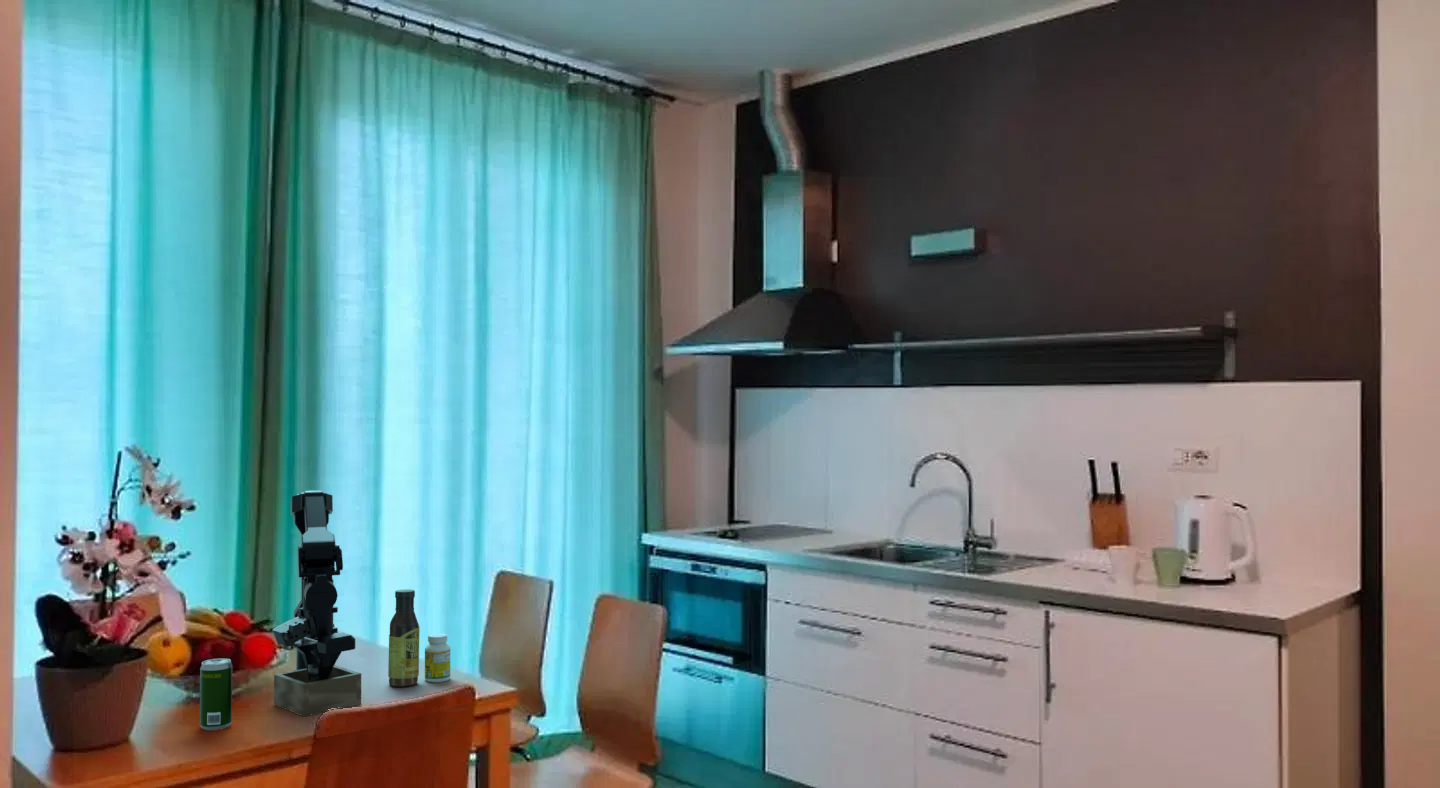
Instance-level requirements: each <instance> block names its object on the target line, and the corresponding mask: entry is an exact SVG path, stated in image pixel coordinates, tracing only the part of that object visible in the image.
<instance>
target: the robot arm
mask: <svg viewBox="0 0 1440 788" xmlns="http://www.w3.org/2000/svg"><path fill="white" fill-rule="evenodd" d="M333 505H334V503H333V494H330V493H327V491H324V490H305V491H302V492H301V493H298V494H295V495H292V496H291V498H290V515H291V517H292V516H293V522H294V524H295V526H296V528H297V529H298V531H299V533H300V534H301V540H300V542H301V543H300V545H298V546H297V569H298V570H297V572H298V578H300V581H301V582H300V583H301V586H300V587H301V589H300V591H301V592H300V594H301V595H300V599H301V600H300V601H299V602H298V603H297V605H296V608H295V609H294V610H293V618H290V619H289V620H287V621H285V622H283V623H281V624H279V625H278V626H275V627H274V628H272V632H273V635H274V638H275V640H276V643H277V645H279V646H280V645H281V646H283V647H286V648H289V649H290V650H293V649H295V650H296V653H295V654H296V655H295V656H296V658H295V659H296V663H295V664H296V667H295V668H296V669H295V670H301V669H307V672H308V664H309V663H312V662H317V664H318V674H319V680H325V679H328V677H329V675H330V673H331V671H332V669H333V667H334V665H336V662H337V661H338V660H339V657H340V656H341V653H342V652H347V651H351V650H355V649H356V638H355V637H354V636H352V635H351V634H348V633H345V632H339V631H338V630H339V629H338V627H335V624H334V614H335V613H338V612H339V610H338V609H339V608H338V606H334V605H335V604H336V602H337V601H338V591H337V589H336V586H335V584H334V578H333V576H340V575H341V571H343V569H344V563H343V551H342V549H341V548H340V545H339V543H336V538H335V534H334V533H332V532H331V531H329V530H328V524H329V522H330V521H329V520H330V516H329V515H332V514H333V511H334V509H333ZM295 670H292V671H295Z"/></svg>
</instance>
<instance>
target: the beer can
mask: <svg viewBox="0 0 1440 788" xmlns="http://www.w3.org/2000/svg"><path fill="white" fill-rule="evenodd" d="M199 671H200V672H199V673H200V674H199V677H200V678H199V688H200V689H199V725H200V727H201V729H202V730H203V729H204V731H219V730H218V729H220V730H223V729H222V728H224V729H226V728H225V727H227V728H229V727H230V726H231V724H232V721H233V664H232V660H231V659H230V658H212V659H207V660H204V661H202V662H201V666H200V668H199ZM229 725H230V726H229ZM228 726H229V727H228Z"/></svg>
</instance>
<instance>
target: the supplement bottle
mask: <svg viewBox="0 0 1440 788" xmlns="http://www.w3.org/2000/svg"><path fill="white" fill-rule="evenodd" d="M447 641H448V634H446V633H431V634H428V636H427V642H428V644H427V645H426V646H425V647H424V680H425V681H426V682H429V683H444V682H447V681H449V680H450V678H451V646H450V644H449V643H447Z"/></svg>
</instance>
